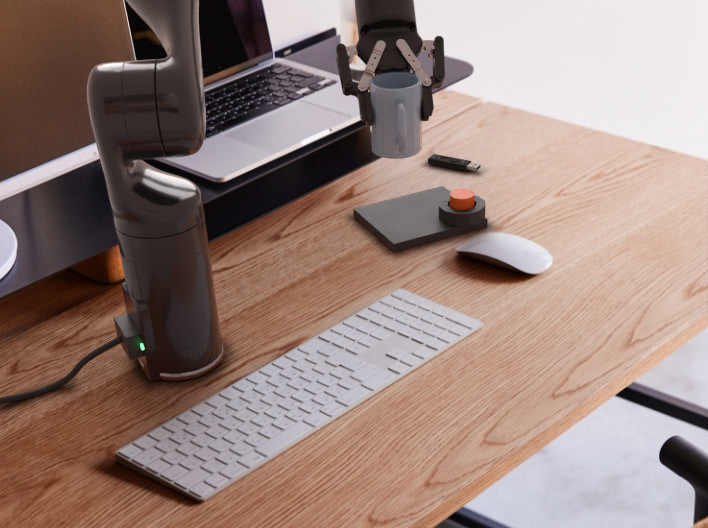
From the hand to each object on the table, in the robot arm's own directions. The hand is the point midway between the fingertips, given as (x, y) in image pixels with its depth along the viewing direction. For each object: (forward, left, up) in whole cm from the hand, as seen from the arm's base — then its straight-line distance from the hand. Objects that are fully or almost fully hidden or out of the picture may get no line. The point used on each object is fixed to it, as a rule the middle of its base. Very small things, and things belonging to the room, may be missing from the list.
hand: (397, 120), depth 134 cm
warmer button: (+8, -3, -12) cm, 15 cm away
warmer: (+3, 0, -15) cm, 15 cm away
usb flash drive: (+16, +13, -15) cm, 25 cm away
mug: (0, 0, -4) cm, 4 cm away
